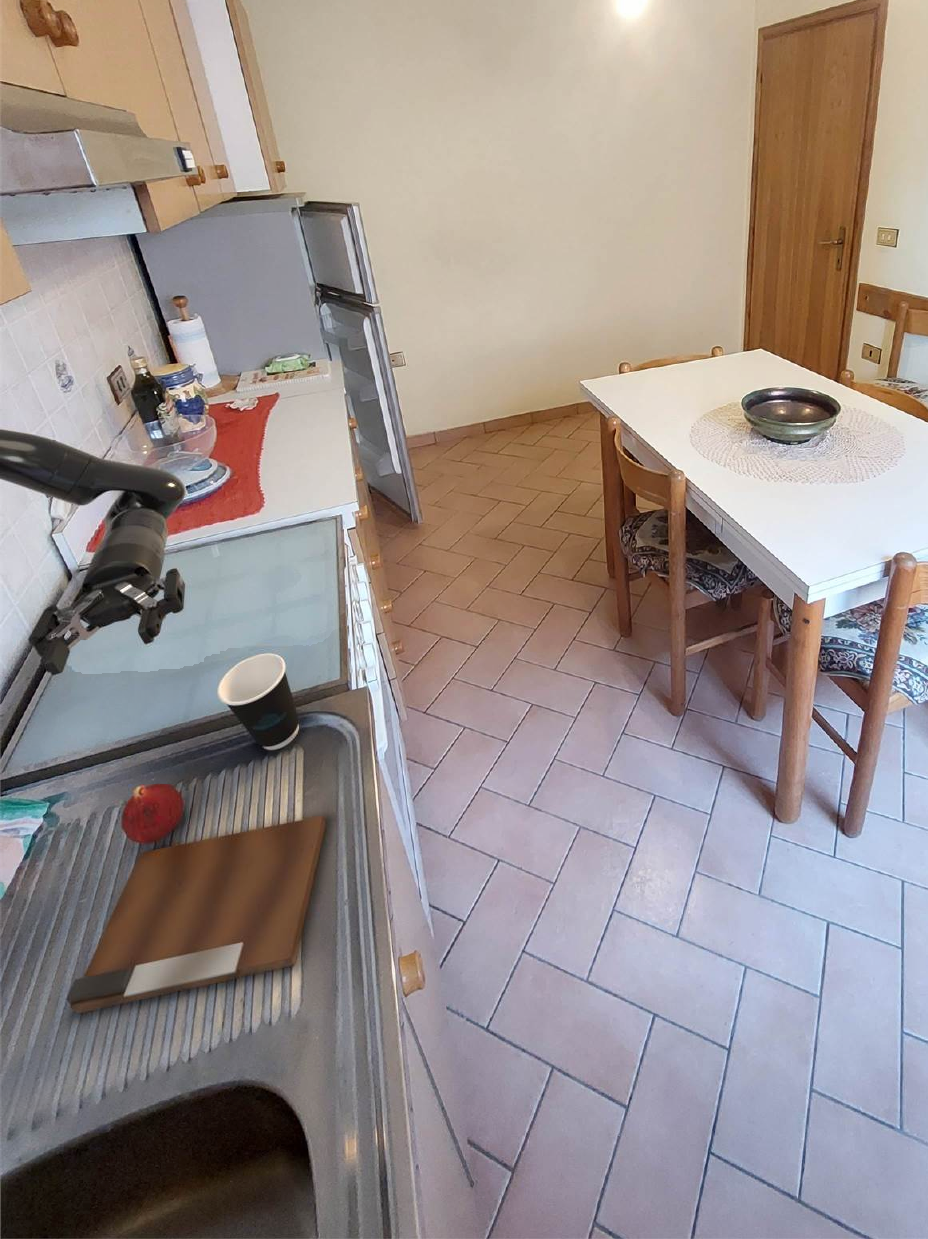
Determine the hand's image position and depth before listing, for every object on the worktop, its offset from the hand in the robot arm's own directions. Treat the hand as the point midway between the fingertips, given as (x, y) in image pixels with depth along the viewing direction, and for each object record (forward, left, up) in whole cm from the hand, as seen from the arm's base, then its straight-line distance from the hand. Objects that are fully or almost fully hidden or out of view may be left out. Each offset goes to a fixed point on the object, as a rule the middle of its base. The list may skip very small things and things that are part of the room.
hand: (99, 653), depth 68 cm
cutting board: (+8, -15, -24) cm, 30 cm away
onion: (-1, -5, -24) cm, 25 cm away
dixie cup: (+10, +6, -24) cm, 27 cm away
